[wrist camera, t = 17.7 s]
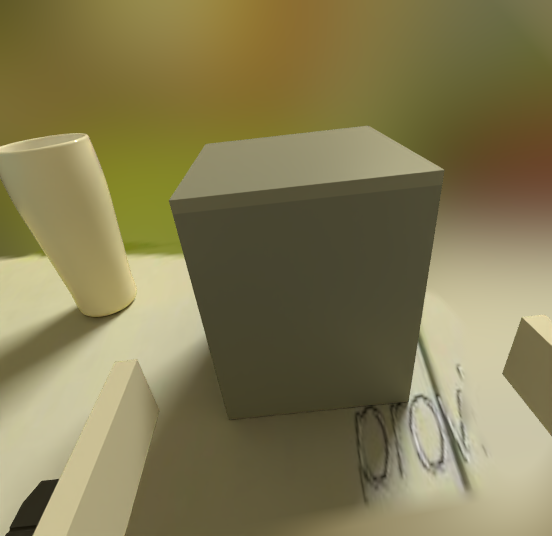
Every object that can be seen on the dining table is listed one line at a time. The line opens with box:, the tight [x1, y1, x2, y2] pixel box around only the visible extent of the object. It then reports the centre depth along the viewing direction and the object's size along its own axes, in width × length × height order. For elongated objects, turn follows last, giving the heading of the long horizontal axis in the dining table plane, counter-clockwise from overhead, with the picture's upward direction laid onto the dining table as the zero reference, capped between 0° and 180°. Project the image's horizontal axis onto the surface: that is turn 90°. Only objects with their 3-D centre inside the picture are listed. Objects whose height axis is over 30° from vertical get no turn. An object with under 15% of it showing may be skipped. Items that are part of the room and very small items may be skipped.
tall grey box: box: [169, 126, 444, 420], centre depth 22 cm, size 11×11×14 cm
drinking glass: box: [0, 133, 137, 317], centre depth 29 cm, size 7×7×15 cm
